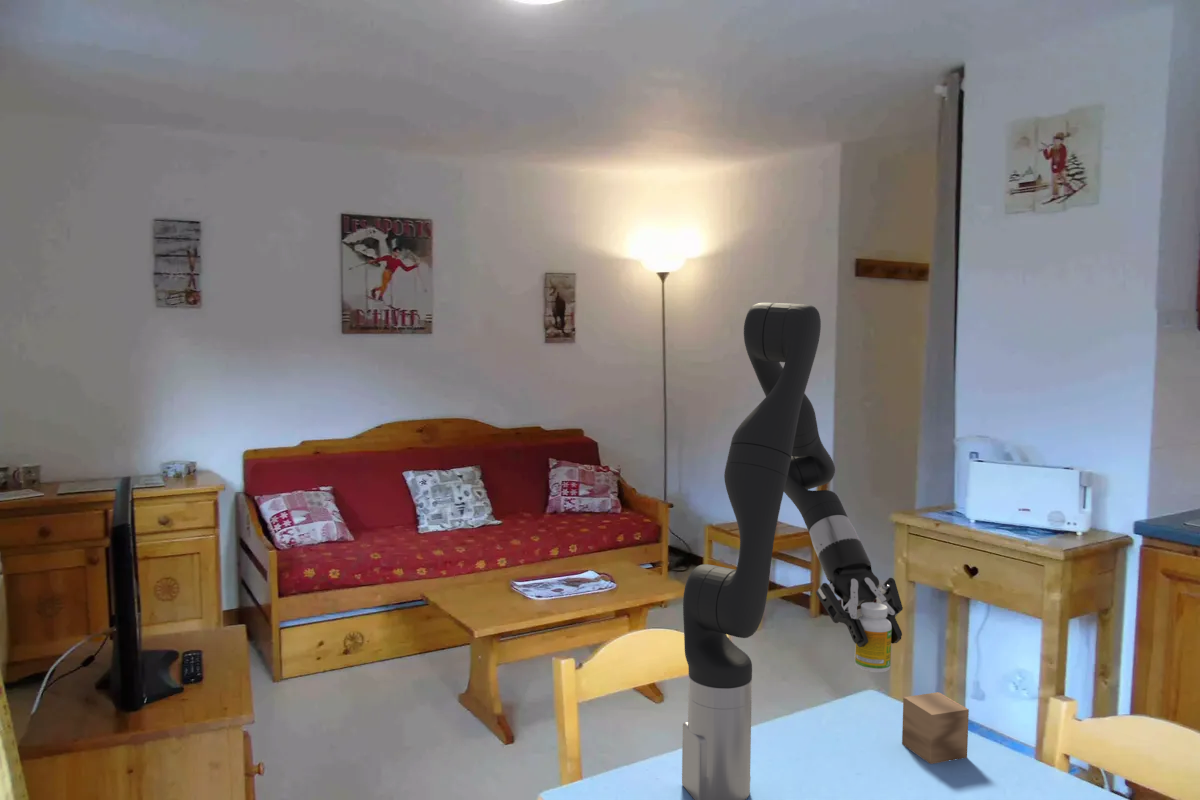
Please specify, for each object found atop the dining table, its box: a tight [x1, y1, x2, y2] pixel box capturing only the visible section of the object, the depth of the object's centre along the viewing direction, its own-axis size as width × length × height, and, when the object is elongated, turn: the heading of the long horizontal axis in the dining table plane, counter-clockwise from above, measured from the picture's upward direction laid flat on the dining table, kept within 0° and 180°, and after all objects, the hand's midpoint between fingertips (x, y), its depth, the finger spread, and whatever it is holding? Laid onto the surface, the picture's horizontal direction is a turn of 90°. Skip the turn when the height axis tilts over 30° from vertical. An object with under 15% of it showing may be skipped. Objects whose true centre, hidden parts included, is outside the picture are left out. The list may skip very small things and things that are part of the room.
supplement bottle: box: [854, 601, 892, 673], centre depth 132 cm, size 5×5×10 cm
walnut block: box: [901, 691, 970, 765], centre depth 137 cm, size 7×7×8 cm
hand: (880, 642), depth 131 cm, fingers closed on supplement bottle, 5 cm apart
